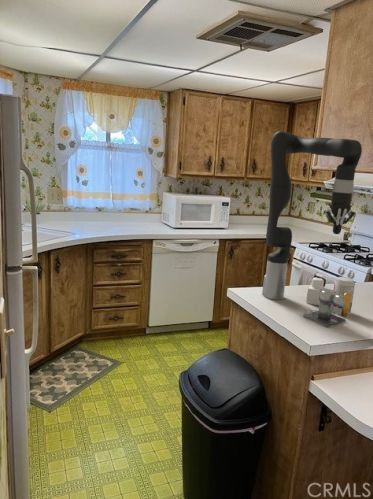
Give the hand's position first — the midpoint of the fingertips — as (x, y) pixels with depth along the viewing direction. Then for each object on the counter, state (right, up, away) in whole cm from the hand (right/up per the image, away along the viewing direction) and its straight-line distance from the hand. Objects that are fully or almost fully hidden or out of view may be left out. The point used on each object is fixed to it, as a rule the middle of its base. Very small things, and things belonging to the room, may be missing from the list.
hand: (336, 233), depth 166 cm
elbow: (-2, -31, -3) cm, 32 cm away
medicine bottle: (-2, -31, +21) cm, 38 cm away
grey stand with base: (-5, -35, +1) cm, 35 cm away
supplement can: (+6, -34, +11) cm, 36 cm away
